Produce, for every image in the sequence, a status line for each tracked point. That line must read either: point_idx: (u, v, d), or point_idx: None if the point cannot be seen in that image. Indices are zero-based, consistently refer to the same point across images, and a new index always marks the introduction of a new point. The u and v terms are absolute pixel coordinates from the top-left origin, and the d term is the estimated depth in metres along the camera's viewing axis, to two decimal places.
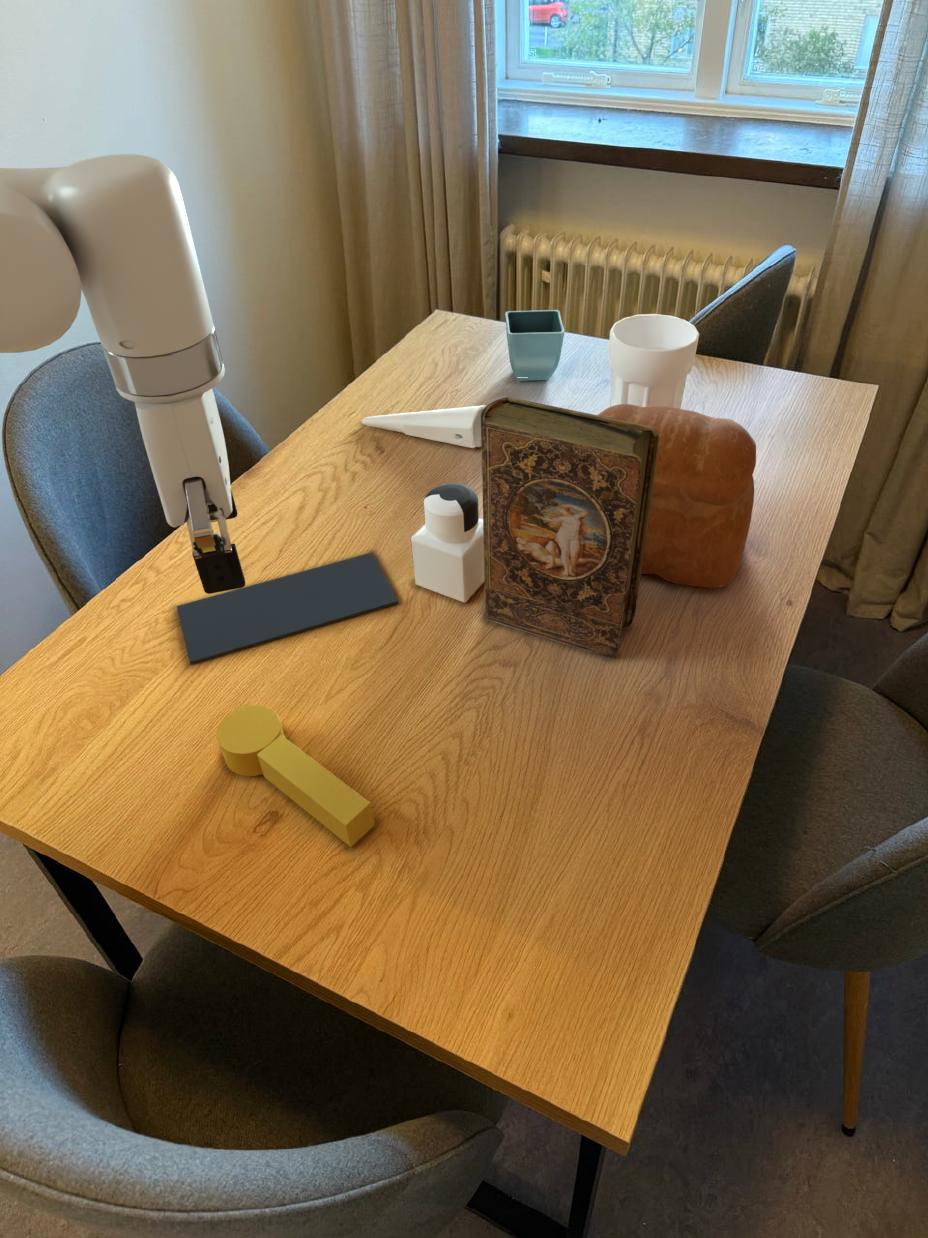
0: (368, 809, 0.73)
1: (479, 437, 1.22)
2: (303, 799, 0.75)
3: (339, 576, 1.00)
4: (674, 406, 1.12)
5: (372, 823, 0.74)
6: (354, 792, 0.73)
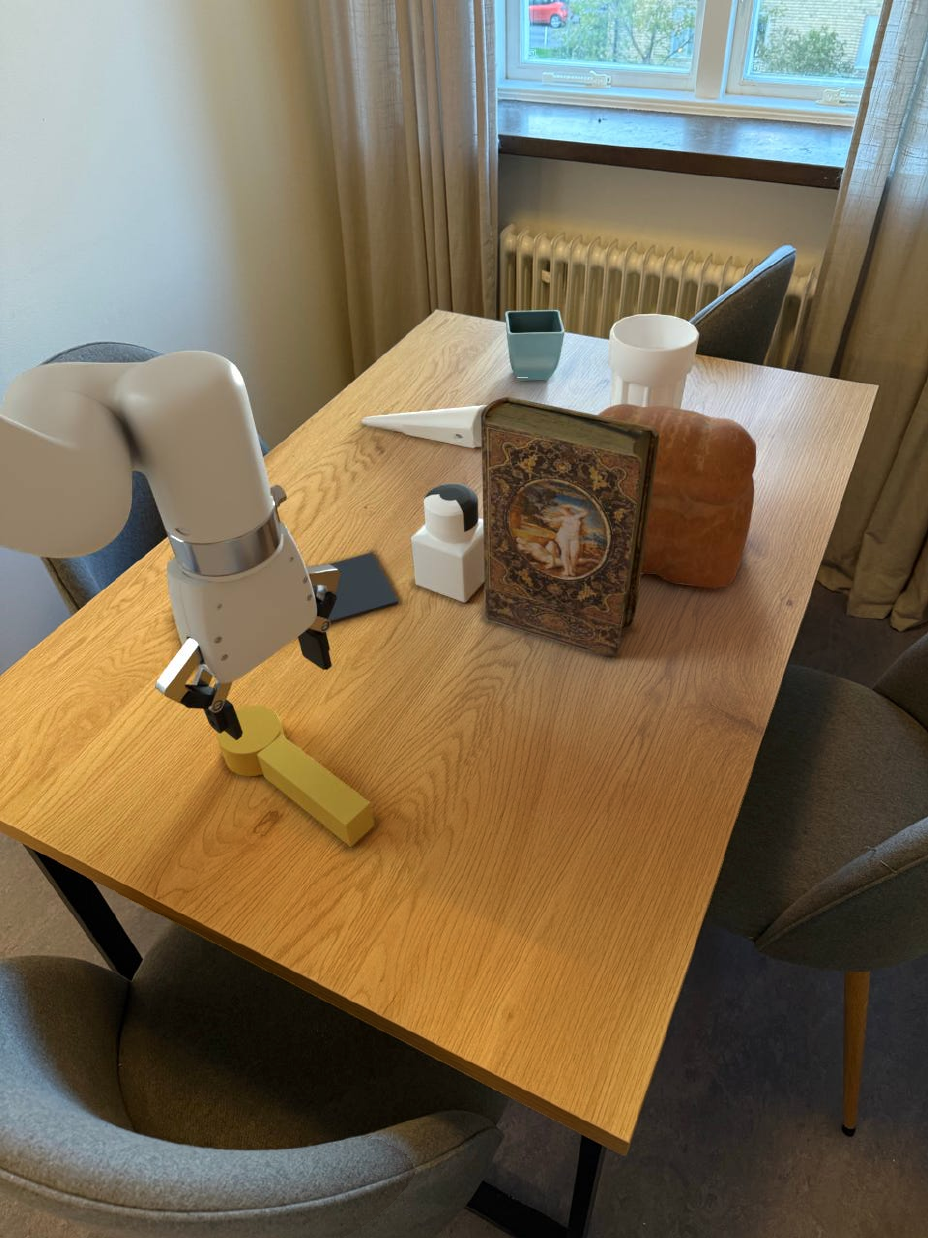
0: (368, 809, 0.73)
1: (479, 437, 1.22)
2: (303, 799, 0.75)
3: None
4: (674, 406, 1.12)
5: (372, 823, 0.74)
6: (354, 792, 0.73)
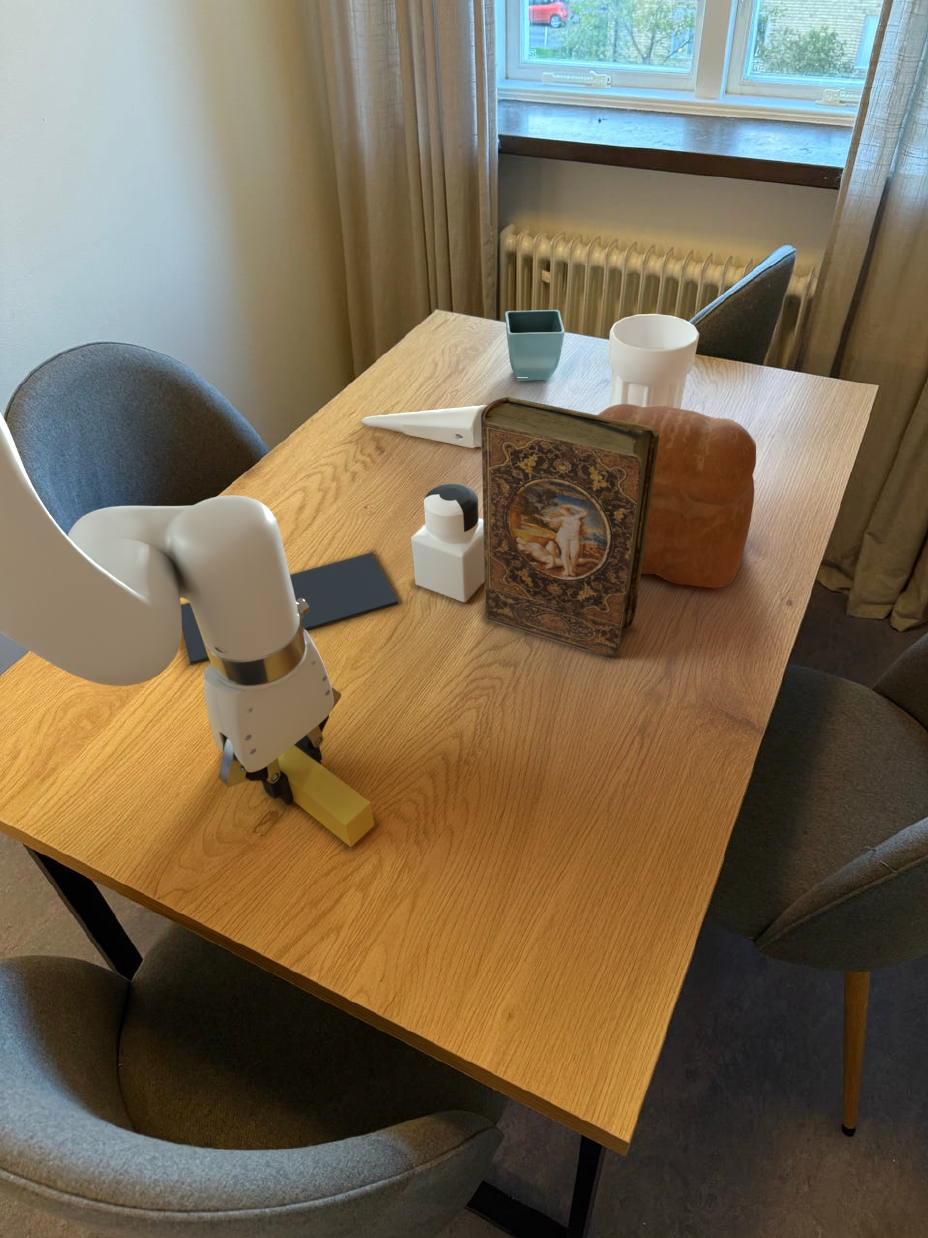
0: (368, 809, 0.73)
1: (479, 437, 1.22)
2: (303, 799, 0.75)
3: (339, 576, 1.00)
4: (674, 406, 1.12)
5: (372, 823, 0.74)
6: (354, 792, 0.73)
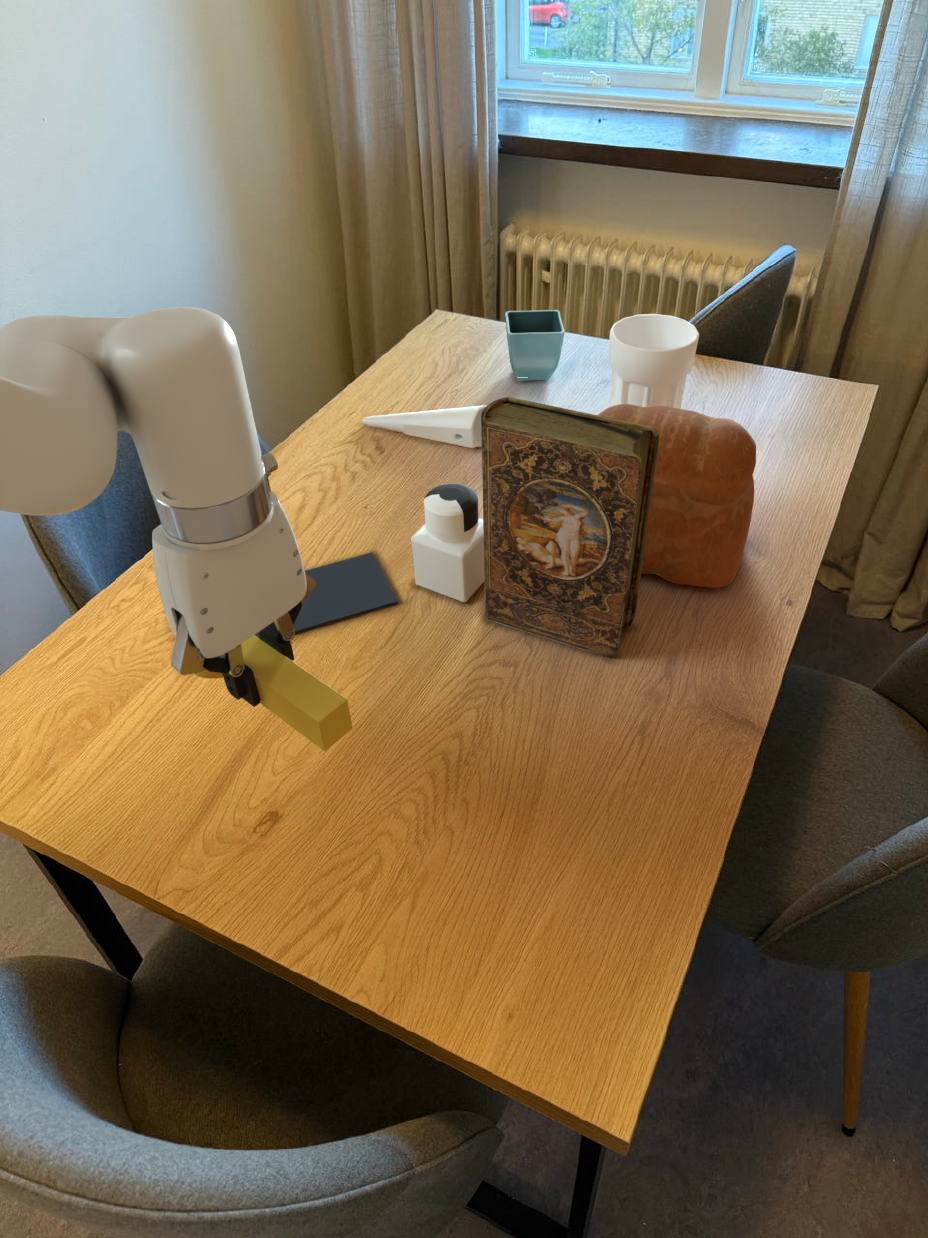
0: (345, 707, 0.64)
1: (479, 437, 1.22)
2: (271, 699, 0.65)
3: (339, 576, 1.00)
4: (674, 406, 1.12)
5: (349, 726, 0.65)
6: (329, 688, 0.64)
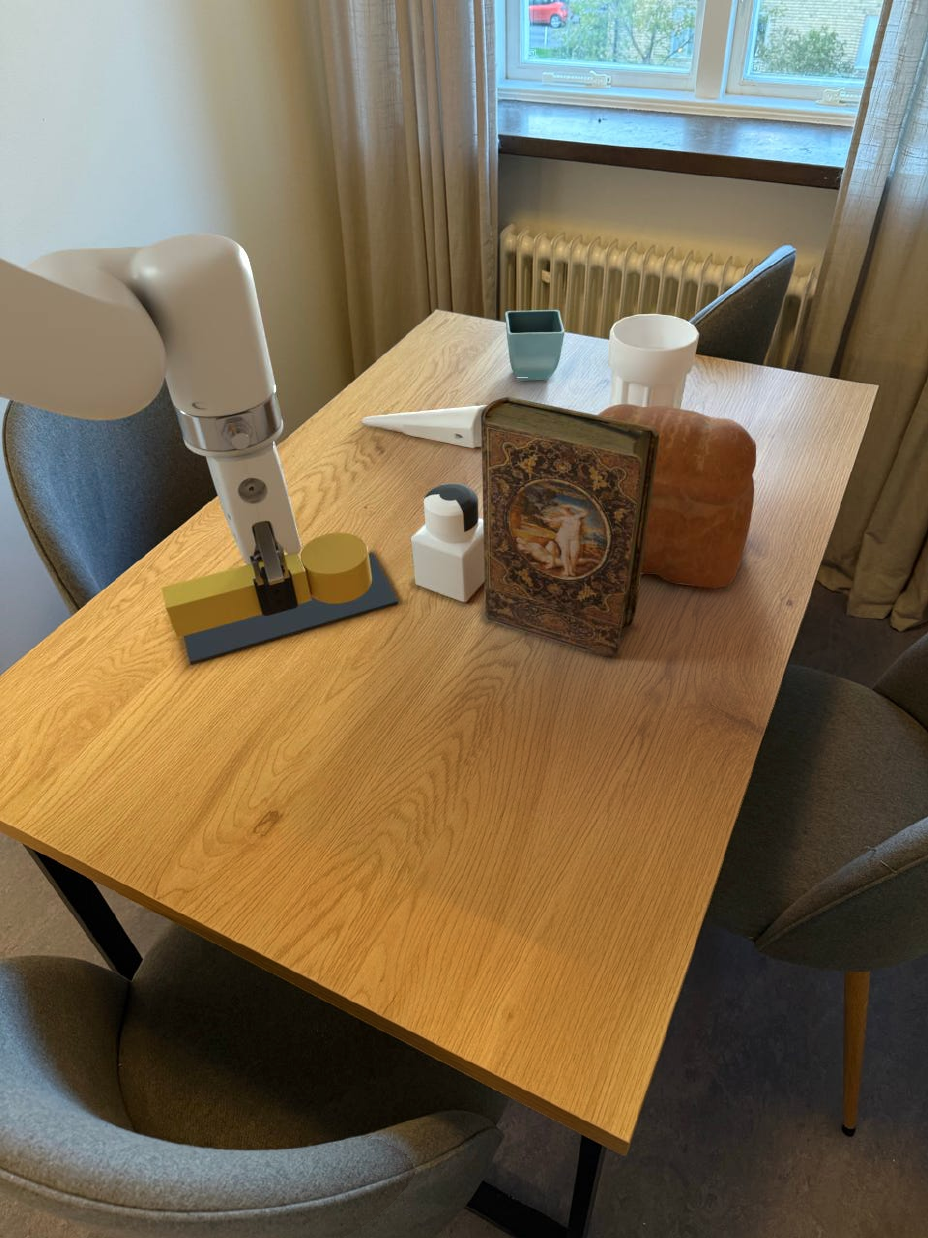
0: (167, 612, 0.70)
1: (479, 437, 1.22)
2: None
3: None
4: (674, 406, 1.12)
5: (174, 631, 0.72)
6: (188, 601, 0.70)
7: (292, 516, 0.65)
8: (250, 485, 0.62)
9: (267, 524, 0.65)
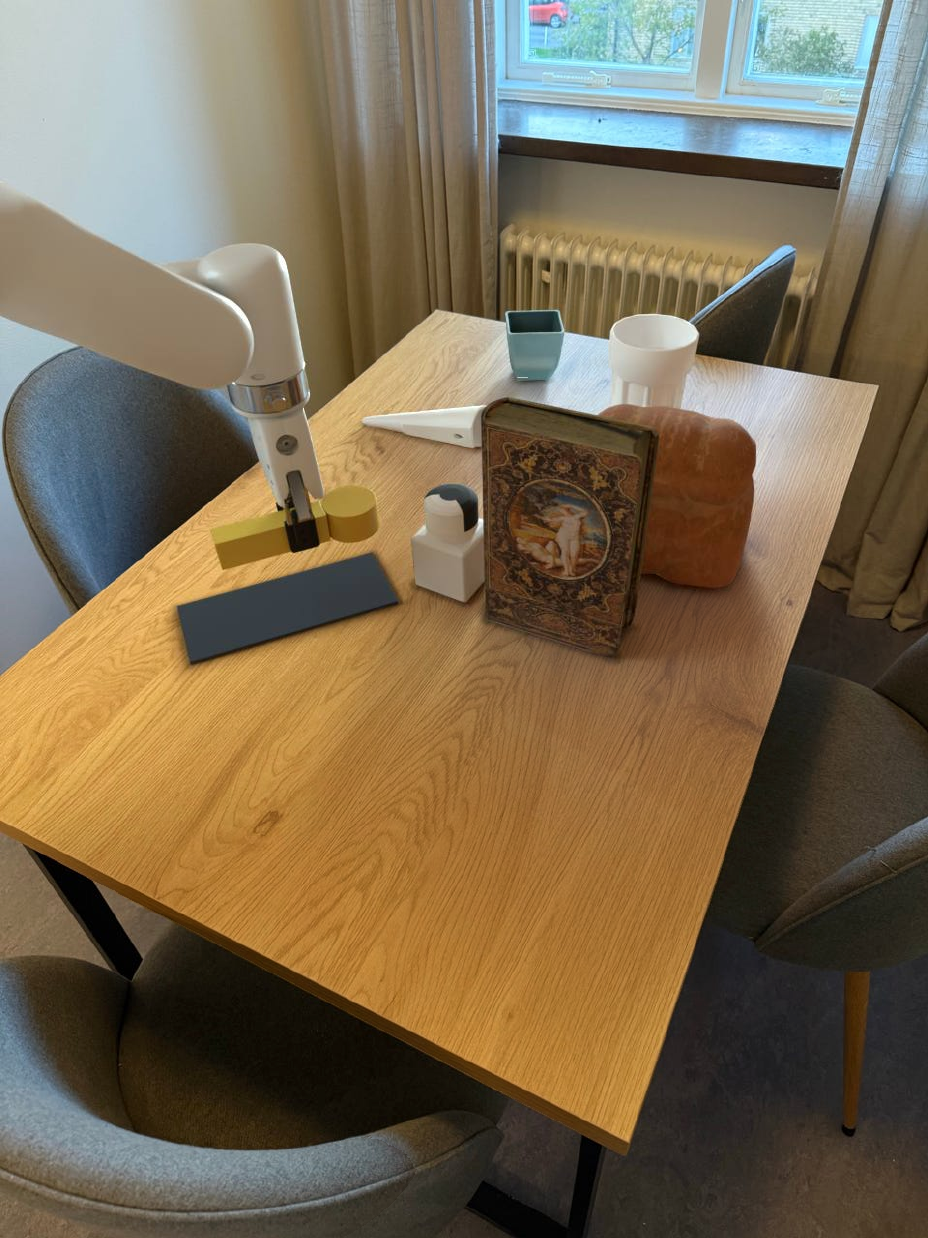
0: (215, 548, 0.87)
1: (479, 437, 1.22)
2: None
3: (339, 576, 1.00)
4: (674, 406, 1.12)
5: None
6: (232, 538, 0.87)
7: (317, 466, 0.82)
8: (285, 441, 0.79)
9: (297, 473, 0.81)
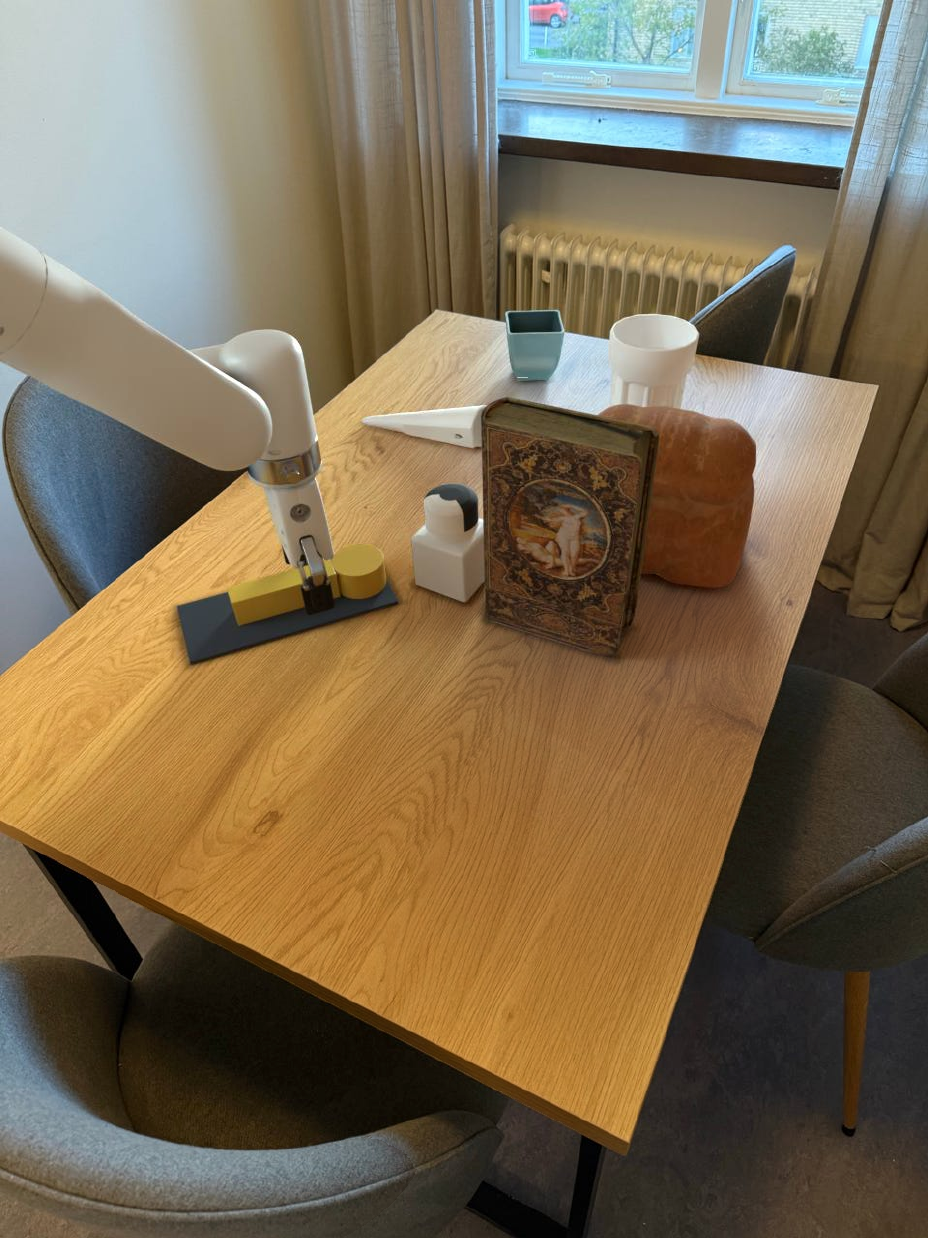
0: (232, 606, 0.93)
1: (479, 437, 1.22)
2: None
3: None
4: (674, 406, 1.12)
5: (237, 621, 0.94)
6: (248, 597, 0.92)
7: (328, 531, 0.87)
8: (299, 509, 0.84)
9: None
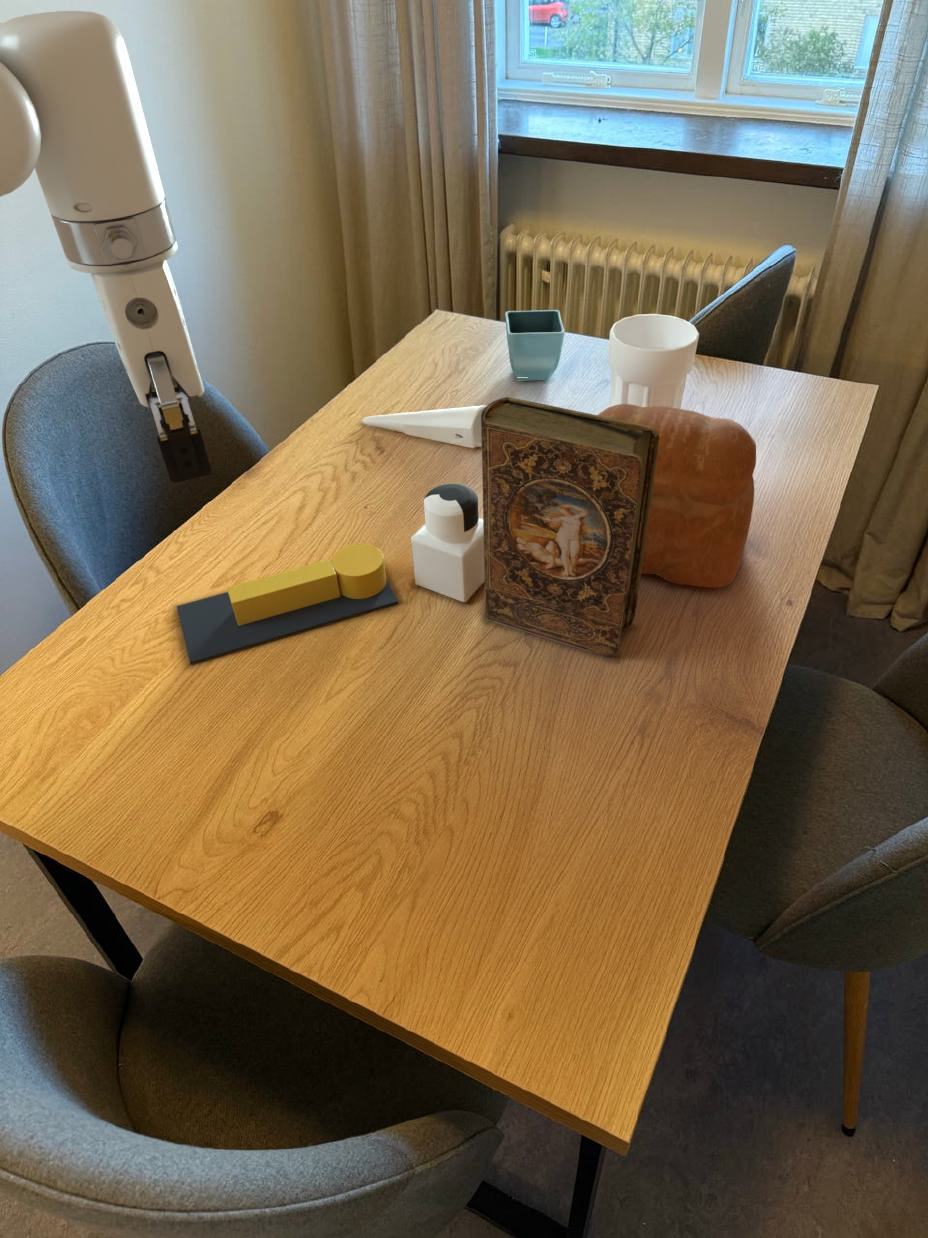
0: (232, 606, 0.93)
1: (479, 437, 1.22)
2: None
3: None
4: (674, 406, 1.12)
5: (237, 621, 0.94)
6: (248, 597, 0.92)
7: (189, 349, 0.60)
8: (139, 307, 0.57)
9: None
